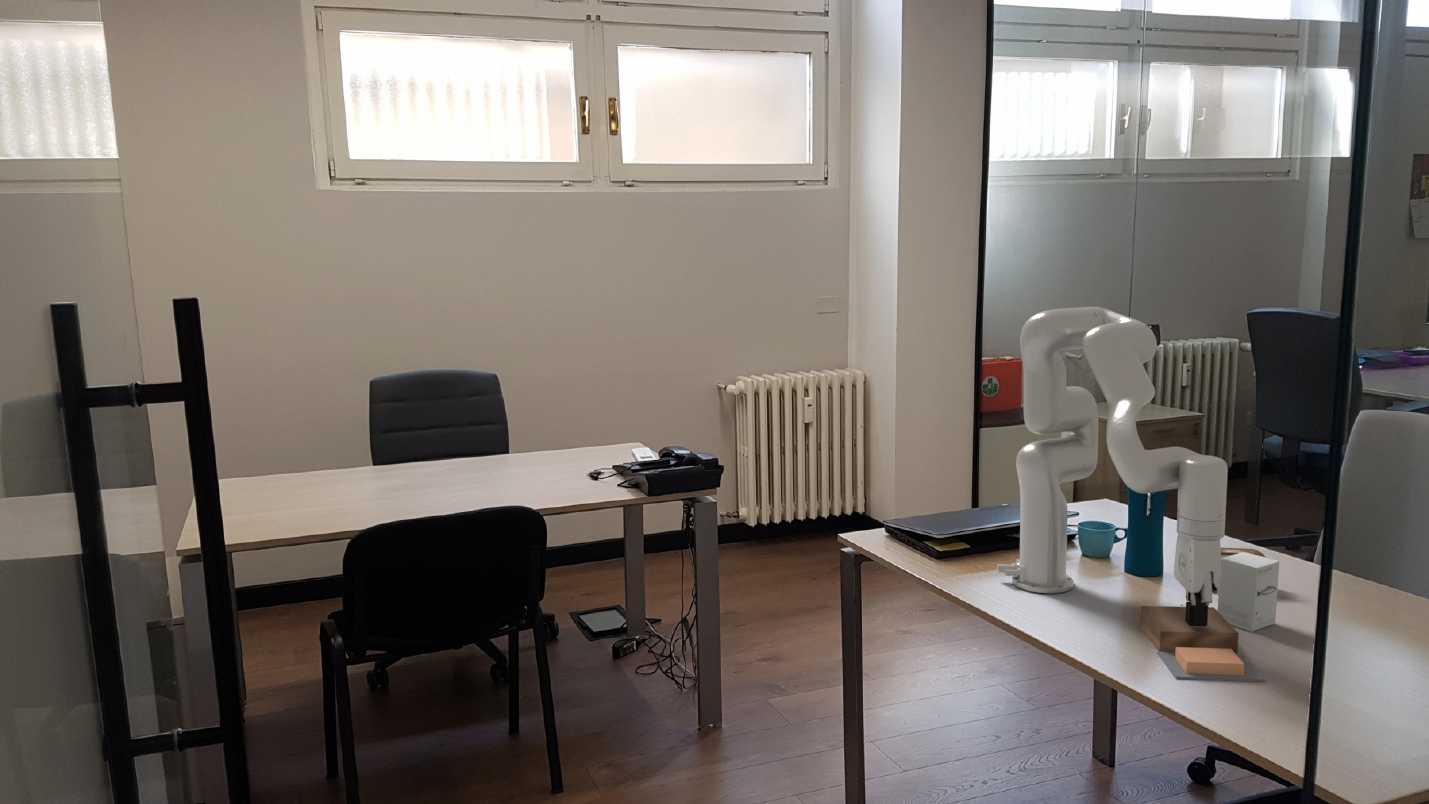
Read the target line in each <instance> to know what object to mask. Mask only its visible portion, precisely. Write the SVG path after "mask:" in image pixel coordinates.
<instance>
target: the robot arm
mask: <svg viewBox="0 0 1429 804" xmlns="http://www.w3.org/2000/svg"><path fill="white" fill-rule="evenodd" d="M1155 335H1156V334H1154V332H1153V330H1152V329H1151V328H1150V327H1149V326H1148V325H1147V324H1146V323H1144V322H1142V321H1140V320H1138V319H1135V318H1133V317H1130V316H1127V315H1125V314H1121V313H1118V312H1115V311H1113V310H1110V309H1108V308H1103V307H1101V306H1083V307H1066V308H1056V309H1055V308H1054V309H1049V310H1044V311H1040V312H1038V313H1036V314H1034V315H1032V316H1031V317H1029V318H1028V320H1026V321H1025V323H1024V325H1023V326H1022V329H1021V331H1020V336H1019V348H1020V354H1021V359H1022V366H1023V419H1024V425H1025V428H1026V429H1027V430H1028V431H1029V432H1030V433H1032V434H1035V435H1040V436H1041V435H1052V434H1053V435H1054V434H1061V435H1060V437H1057V438H1049V439H1042V440H1041V439H1040V440H1037V441H1032V442H1030V443H1027V444H1026V445H1024V446H1022V448H1021V449H1020V450H1019V451H1018V453H1017V455H1016V457H1015V467H1016V472H1017V474H1016V475H1017V478H1018V485H1019V496H1020V499H1019V500H1020V504H1019V505H1020V510H1019V511H1020V512H1019V513H1020V519H1019V521H1020V522H1019V523H1020V525H1019V526H1020V527H1019V528H1020V529H1019V558H1016V562H1012V563H1011V564H1006V563H997V565H996V572H997V573H998V574H999V573H1002V574H1004V576H1009V577H1011V582H1012V584H1013V585H1014V586H1015V587H1018V588H1019V589H1021V590H1024V591H1028V592H1032V593H1037V594H1039V593H1041V594H1059V593H1064V592H1067V591H1070V590H1072V589H1073V587H1074V581H1075V580H1074V579H1073V578H1072V577H1071V576H1070V575H1068V574H1067V554H1068V552H1067V551H1068V549H1067V545H1068V503H1067V500H1066V497H1065V495H1064V493H1063V491H1062V489H1061V487H1060V485H1061V484H1063V483H1068V482H1074V481H1078V480H1079V481H1080V480H1083V479H1086V478H1088V477H1090V476H1091V475H1092V474H1093V473H1094V471H1095V470H1096V468H1097V466H1098V465H1097V464H1098V457H1099V408H1098V404H1097V402H1096V399H1095V397H1094V396H1093V394H1092V393H1091V392H1090V391H1089V390H1088V389H1086V388H1085V387H1082V386H1078V385H1077V386H1075V385H1071V386H1067V368H1066V365H1065V362H1064V359H1063V358H1062V356H1061V355H1060V354H1059V352H1061V351H1070V350H1073V351H1074V350H1081V349H1082V351H1083V354H1084V357H1085V358H1086V361H1087V362H1088V365H1089V367H1090V369H1091V371H1092V373H1093V375H1094V378H1095V379H1096V381H1097V383H1098V386H1099V388H1100V390H1101V393H1102V394H1103V396H1104V399H1105V400H1106V403H1107V405H1108V406H1109V413H1108V417H1107V422H1106V431H1105V432H1106V439H1105V440H1106V448H1107V451H1108V454H1109V456H1110V459H1111V461H1112V463H1113V464H1114V468H1115V469H1116V471H1117V473H1118V474H1119V475H1118V476H1120V477H1119V478H1121V480H1122V482H1123V483H1124V484H1125V485H1126V486H1127V487H1128V488H1129V489H1130V490H1132V491H1134V492H1136V493H1138V494H1151V493H1152V494H1153V493H1156V492H1162V491H1168V490H1174V489H1175V490H1176V489H1178V490H1177V512H1176V513H1177V515H1176V517H1177V518H1176V533H1177V538H1176V543H1175V544H1176V545H1175V553H1174V555H1175V556H1174V562H1173V563H1174V564H1173V575H1174V578H1175V580H1176V581H1177V582H1178V583H1179V585H1181V586H1182V587H1183V588H1184V589H1185V600H1186V601H1185V607H1186V615H1185V622H1186V623H1187V624H1188V625H1189V626H1207V622H1208V607H1209V606H1210V603H1211V604H1212V603H1213V594H1214V595H1217V594H1218V593H1219V590H1220V582H1221V548H1222V546H1221V539H1223V538H1224V537H1225V535H1226V531H1225V529H1226V528H1225V527H1226V513H1227V512H1226V511H1227V510H1226V509H1227V491H1228V472H1229V470H1228V467H1229V466H1228V464H1227V462H1226V460H1224V459H1222V458H1221V457H1218V456H1215V455H1207V454H1200V453H1197V452H1196V451H1193V450H1191V449H1189V448H1187V447H1183V446H1182V447H1181V446H1170V447H1161V448H1156V449H1149V450H1145V448H1144V445H1143V443H1142V441H1141V439H1140V436H1139V433H1138V430H1137V418H1138V414H1139V412H1140V410H1141V408H1143V407H1144V406H1146V405H1147V404H1148V403H1150V402H1151V401H1152V399H1153V398H1154V397H1155V394H1156V389H1155V386H1154V385H1153V383H1152V381H1151V379H1150V377H1149V375H1148V373H1147V371H1146V369H1145V366H1144V365H1143V364H1145V363H1147V362H1149V361H1151V359H1153V358H1154V356H1155V354H1156V352H1157V346H1158V344H1157V338H1156V336H1155Z"/></svg>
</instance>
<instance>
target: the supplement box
mask: <svg viewBox="0 0 1429 804" xmlns="http://www.w3.org/2000/svg"><path fill="white" fill-rule="evenodd" d="M1265 557H1266V556H1265ZM1265 557H1262V556H1258V555H1254V554H1250V553H1246V552H1242V553H1238V554H1235V555H1231V556H1228V557H1224V558H1221V582H1220V590H1219V592H1218V593H1217V594H1218V596H1217V609H1216V610H1217V611H1218V612H1219V613H1220V614H1221V615H1222V616H1223V618H1224V619H1225V620H1226V621H1227V622H1228V623H1229V624H1230V625H1231V626H1232V627H1235V628H1239V629H1242V630H1244V631H1248V632H1251V633H1253V632H1254V631H1257V630H1260V629H1263V628H1265V627H1269V626H1271V625H1275V624H1276V616H1277V602H1278V588H1279V573H1280V572H1279V571H1280V561H1279V560H1275V559H1272V558H1268V557H1266V558H1265Z"/></svg>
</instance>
